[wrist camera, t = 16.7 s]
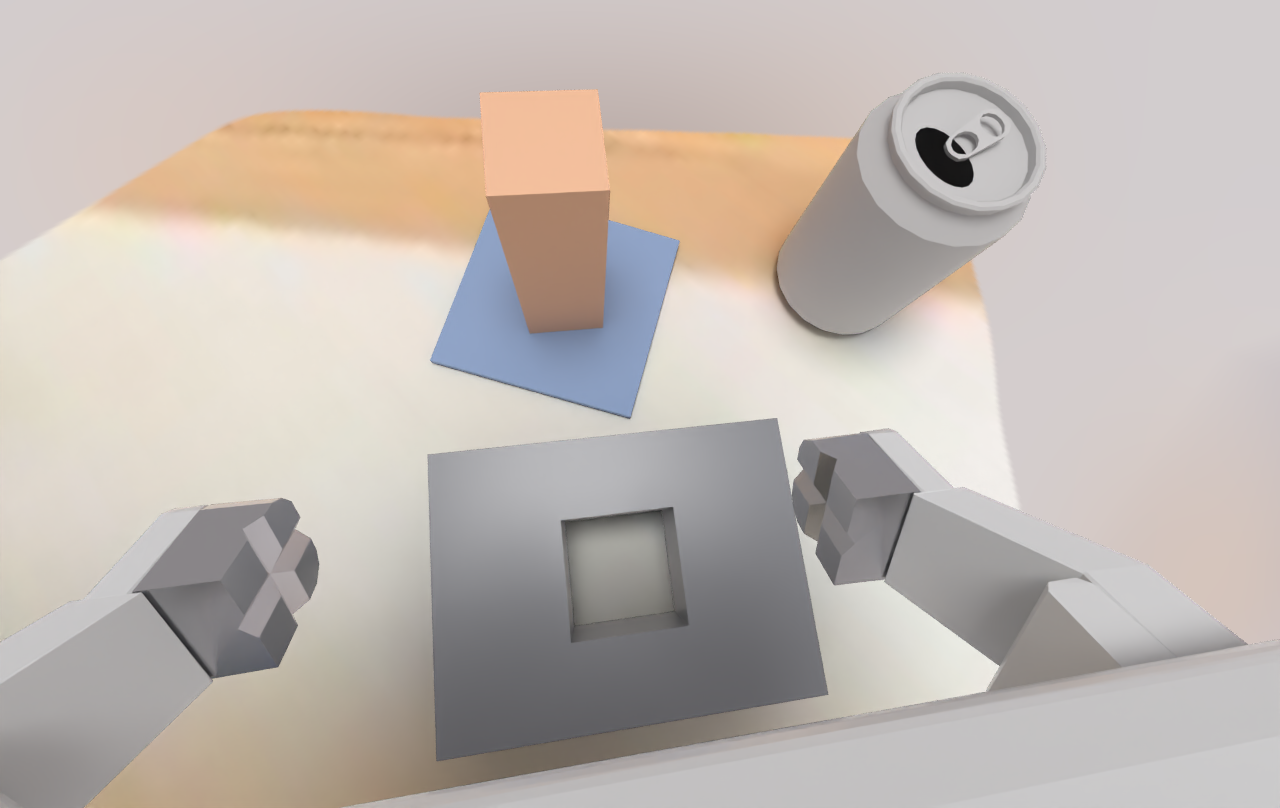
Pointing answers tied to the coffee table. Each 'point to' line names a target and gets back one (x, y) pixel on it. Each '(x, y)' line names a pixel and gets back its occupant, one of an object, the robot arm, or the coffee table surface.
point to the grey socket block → (625, 648)
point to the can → (912, 201)
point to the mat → (563, 360)
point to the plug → (549, 202)
